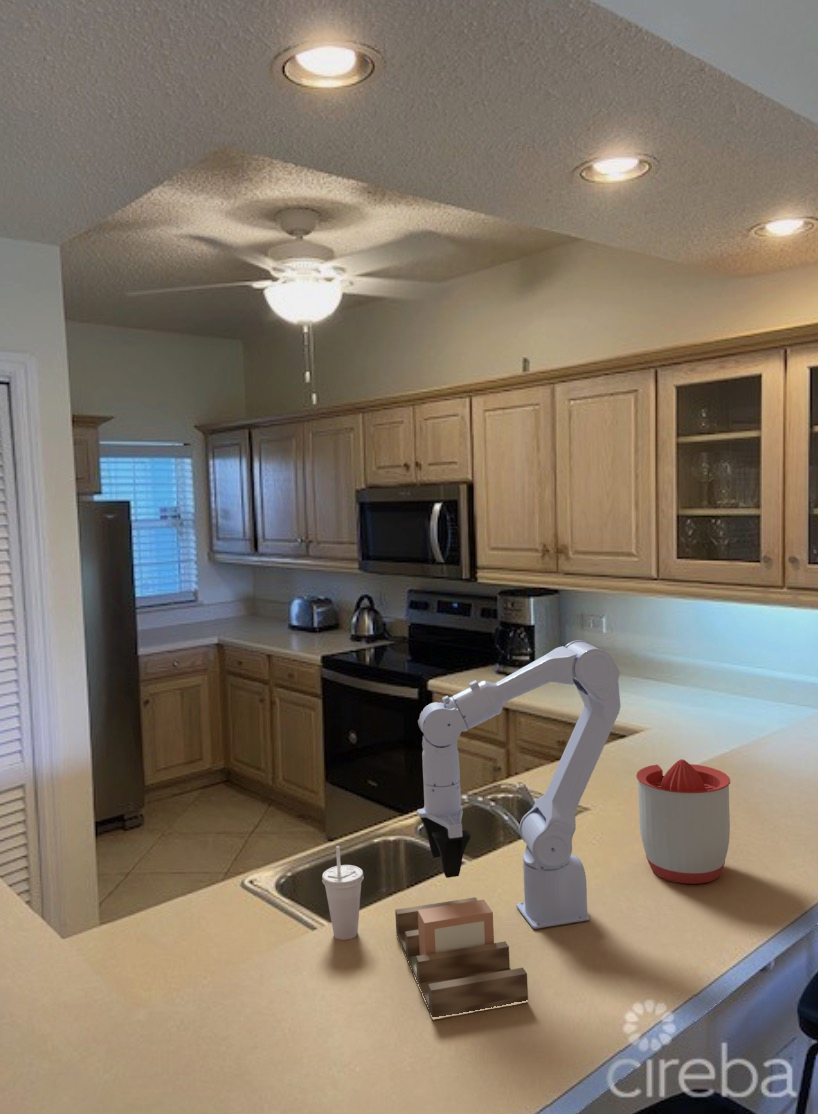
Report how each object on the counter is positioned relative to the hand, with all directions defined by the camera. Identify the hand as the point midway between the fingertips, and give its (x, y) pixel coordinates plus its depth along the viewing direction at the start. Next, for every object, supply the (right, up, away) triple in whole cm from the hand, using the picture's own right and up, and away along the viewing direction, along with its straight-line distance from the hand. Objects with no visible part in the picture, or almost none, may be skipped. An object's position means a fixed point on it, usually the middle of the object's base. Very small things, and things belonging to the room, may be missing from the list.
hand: (445, 865), depth 130 cm
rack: (+1, -10, -12) cm, 15 cm away
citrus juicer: (+43, -7, +16) cm, 46 cm away
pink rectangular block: (+1, -9, -12) cm, 15 cm away
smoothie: (-16, -10, -1) cm, 19 cm away
